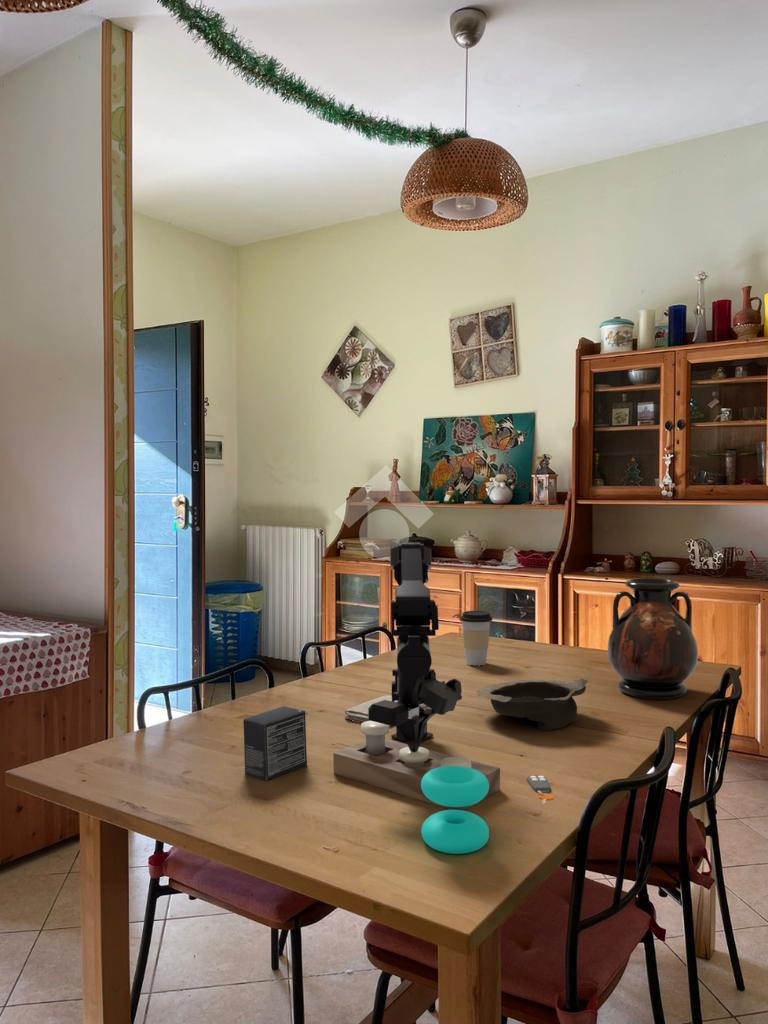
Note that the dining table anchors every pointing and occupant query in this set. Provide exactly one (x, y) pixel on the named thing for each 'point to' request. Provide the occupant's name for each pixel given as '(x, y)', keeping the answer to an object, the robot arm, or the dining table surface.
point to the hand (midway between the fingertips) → (414, 751)
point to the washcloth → (364, 709)
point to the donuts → (455, 826)
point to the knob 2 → (456, 762)
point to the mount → (400, 770)
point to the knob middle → (414, 756)
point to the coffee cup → (476, 636)
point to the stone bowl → (537, 700)
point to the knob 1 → (374, 737)
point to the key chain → (540, 786)
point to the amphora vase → (652, 641)
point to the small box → (275, 742)
